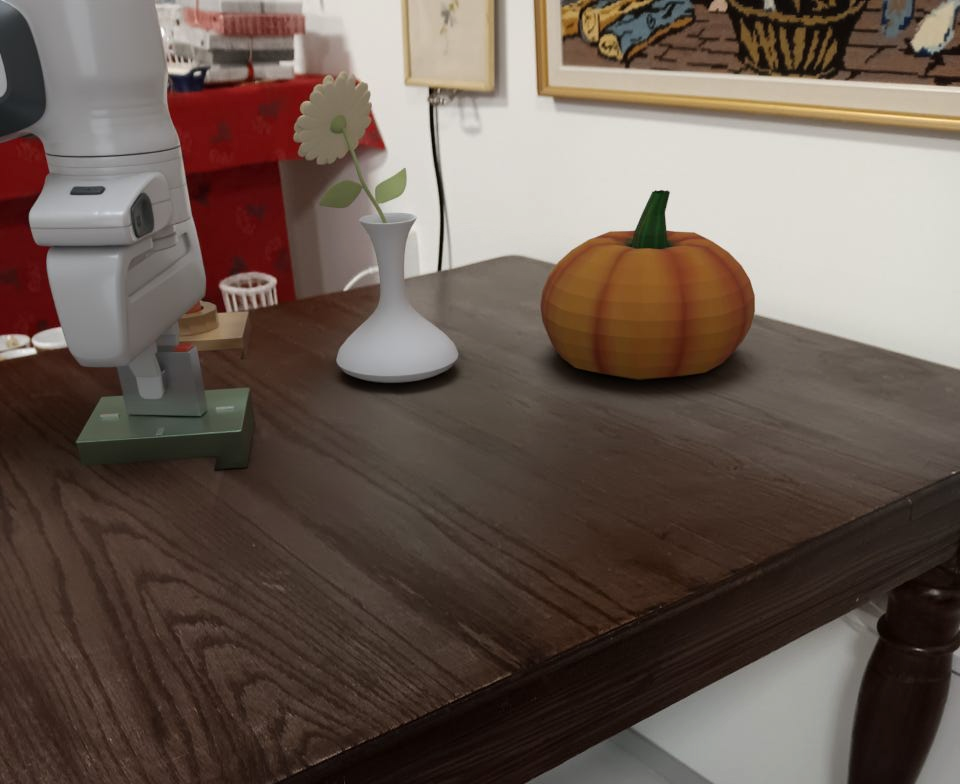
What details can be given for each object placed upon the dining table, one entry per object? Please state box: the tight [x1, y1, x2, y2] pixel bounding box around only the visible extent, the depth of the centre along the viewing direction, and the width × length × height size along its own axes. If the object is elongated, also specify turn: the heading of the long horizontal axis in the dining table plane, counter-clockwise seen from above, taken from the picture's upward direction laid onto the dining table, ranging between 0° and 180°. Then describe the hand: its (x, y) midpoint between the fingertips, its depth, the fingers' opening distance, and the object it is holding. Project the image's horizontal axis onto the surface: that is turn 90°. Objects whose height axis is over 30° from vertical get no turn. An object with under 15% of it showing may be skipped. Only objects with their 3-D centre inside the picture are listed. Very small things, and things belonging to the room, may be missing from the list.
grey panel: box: [116, 343, 208, 416], centre depth 76 cm, size 6×2×5 cm, turn 83°
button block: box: [178, 300, 253, 360], centre depth 101 cm, size 12×10×4 cm
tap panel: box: [75, 387, 256, 471], centre depth 78 cm, size 12×10×3 cm
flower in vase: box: [292, 70, 459, 384], centre depth 86 cm, size 13×11×25 cm
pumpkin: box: [540, 189, 756, 381], centre depth 91 cm, size 19×19×15 cm
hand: (161, 389), depth 76 cm, fingers closed on grey panel, 2 cm apart
